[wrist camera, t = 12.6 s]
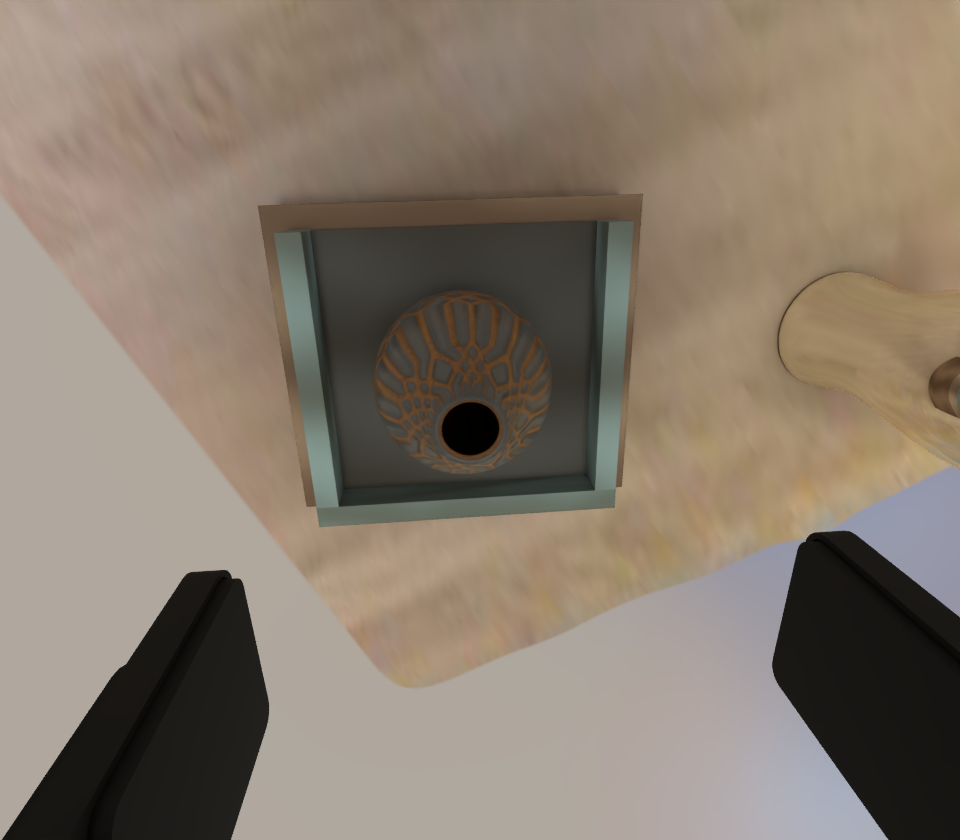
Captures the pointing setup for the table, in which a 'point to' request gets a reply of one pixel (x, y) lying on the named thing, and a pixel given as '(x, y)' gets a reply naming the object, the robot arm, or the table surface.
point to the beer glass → (882, 353)
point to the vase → (462, 382)
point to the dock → (439, 268)
